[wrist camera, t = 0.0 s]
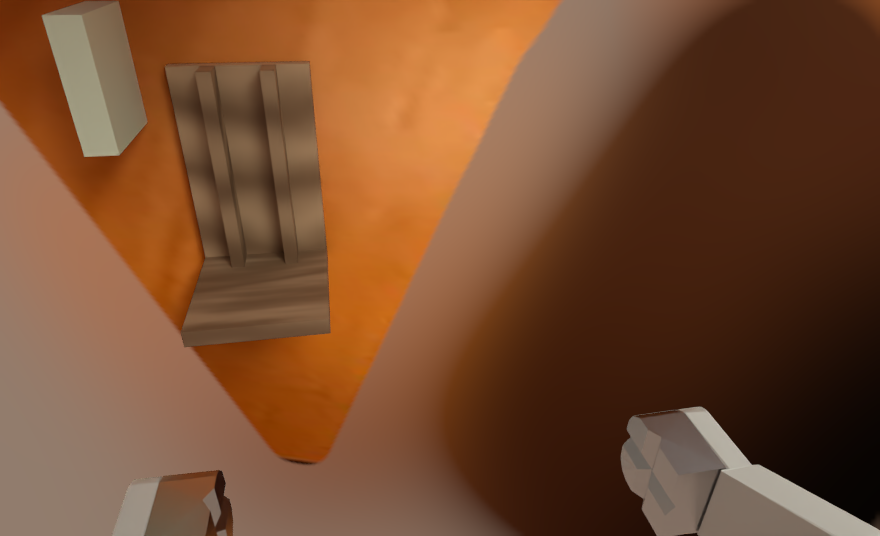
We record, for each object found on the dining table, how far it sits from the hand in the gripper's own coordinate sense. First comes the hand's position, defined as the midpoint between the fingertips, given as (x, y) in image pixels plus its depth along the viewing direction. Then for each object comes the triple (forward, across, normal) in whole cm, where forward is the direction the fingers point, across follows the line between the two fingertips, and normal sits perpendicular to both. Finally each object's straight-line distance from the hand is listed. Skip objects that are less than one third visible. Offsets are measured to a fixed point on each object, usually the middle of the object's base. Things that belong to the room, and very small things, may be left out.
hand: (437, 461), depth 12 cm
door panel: (+48, +19, +1) cm, 52 cm away
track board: (+48, +9, +11) cm, 50 cm away
